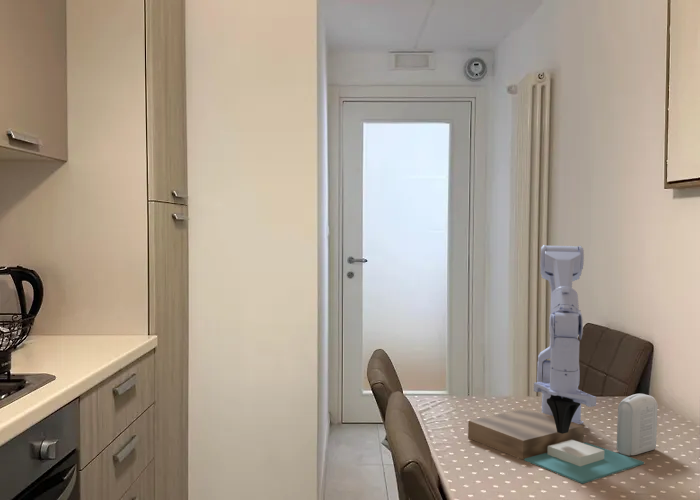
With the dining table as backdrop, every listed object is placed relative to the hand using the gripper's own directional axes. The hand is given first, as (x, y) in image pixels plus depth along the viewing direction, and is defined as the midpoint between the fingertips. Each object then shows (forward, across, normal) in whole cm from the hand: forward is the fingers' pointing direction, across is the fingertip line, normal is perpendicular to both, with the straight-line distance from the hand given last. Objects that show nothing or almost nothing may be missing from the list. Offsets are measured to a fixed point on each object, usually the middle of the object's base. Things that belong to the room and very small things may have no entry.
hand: (562, 432), depth 135 cm
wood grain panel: (+5, -10, 0) cm, 11 cm away
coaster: (+4, +3, 0) cm, 5 cm away
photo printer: (+5, +7, +16) cm, 18 cm away
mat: (+5, +6, 0) cm, 7 cm away
